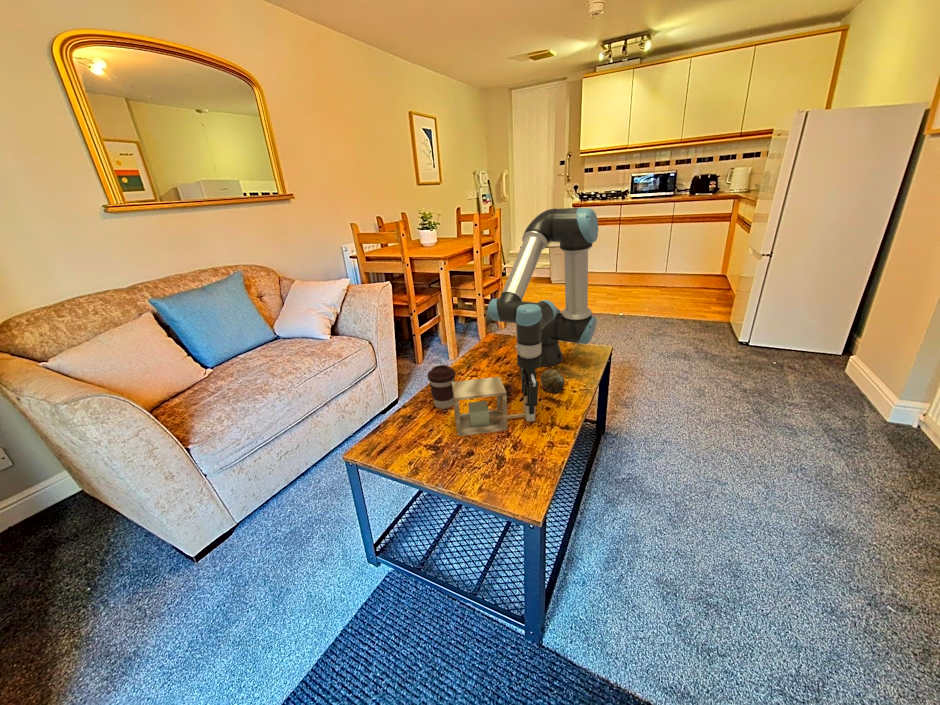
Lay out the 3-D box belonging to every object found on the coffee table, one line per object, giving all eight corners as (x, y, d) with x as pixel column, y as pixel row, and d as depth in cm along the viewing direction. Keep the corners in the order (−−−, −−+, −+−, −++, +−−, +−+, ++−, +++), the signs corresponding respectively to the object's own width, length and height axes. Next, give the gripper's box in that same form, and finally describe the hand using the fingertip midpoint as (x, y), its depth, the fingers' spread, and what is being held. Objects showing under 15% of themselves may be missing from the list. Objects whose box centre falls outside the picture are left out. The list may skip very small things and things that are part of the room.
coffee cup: (437, 415, 138) (433, 377, 133) (427, 403, 147) (422, 367, 141) (462, 407, 142) (459, 370, 137) (451, 396, 151) (447, 360, 145)
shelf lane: (500, 414, 137) (499, 376, 131) (507, 432, 127) (506, 392, 121) (455, 420, 135) (451, 381, 129) (458, 438, 125) (454, 398, 119)
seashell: (559, 398, 145) (560, 378, 141) (535, 392, 149) (535, 373, 146) (569, 385, 153) (570, 366, 150) (547, 380, 158) (547, 362, 155)
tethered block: (531, 413, 135) (531, 392, 132) (536, 422, 130) (536, 401, 126) (469, 420, 133) (468, 400, 130) (471, 430, 128) (470, 409, 125)
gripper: (511, 345, 130) (513, 406, 139) (523, 366, 115) (524, 432, 124) (533, 343, 130) (533, 404, 140) (548, 363, 116) (547, 430, 125)
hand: (529, 417), depth 132 cm, fingers closed on tethered block, 3 cm apart
